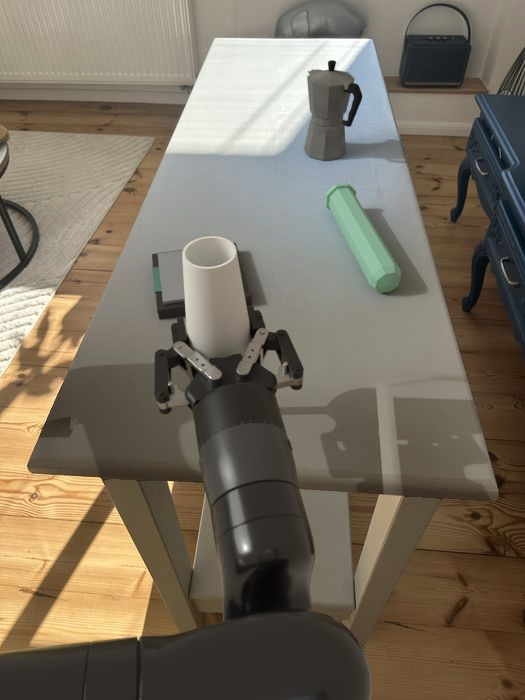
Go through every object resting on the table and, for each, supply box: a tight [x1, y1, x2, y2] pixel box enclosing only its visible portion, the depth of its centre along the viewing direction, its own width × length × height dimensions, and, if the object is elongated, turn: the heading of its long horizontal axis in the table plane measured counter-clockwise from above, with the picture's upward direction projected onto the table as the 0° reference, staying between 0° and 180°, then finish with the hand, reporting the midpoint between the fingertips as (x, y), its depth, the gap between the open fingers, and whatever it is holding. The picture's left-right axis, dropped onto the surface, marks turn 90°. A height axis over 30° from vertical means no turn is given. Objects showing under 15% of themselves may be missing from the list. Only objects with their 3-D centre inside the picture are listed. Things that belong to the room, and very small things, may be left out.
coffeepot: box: [303, 59, 363, 161], centre depth 99 cm, size 15×9×18 cm, turn 36°
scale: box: [151, 242, 253, 320], centre depth 76 cm, size 14×14×2 cm
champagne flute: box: [182, 235, 252, 361], centre depth 51 cm, size 7×7×24 cm
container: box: [324, 182, 402, 294], centre depth 80 cm, size 6×6×25 cm
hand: (215, 317), depth 51 cm, fingers closed on champagne flute, 6 cm apart
